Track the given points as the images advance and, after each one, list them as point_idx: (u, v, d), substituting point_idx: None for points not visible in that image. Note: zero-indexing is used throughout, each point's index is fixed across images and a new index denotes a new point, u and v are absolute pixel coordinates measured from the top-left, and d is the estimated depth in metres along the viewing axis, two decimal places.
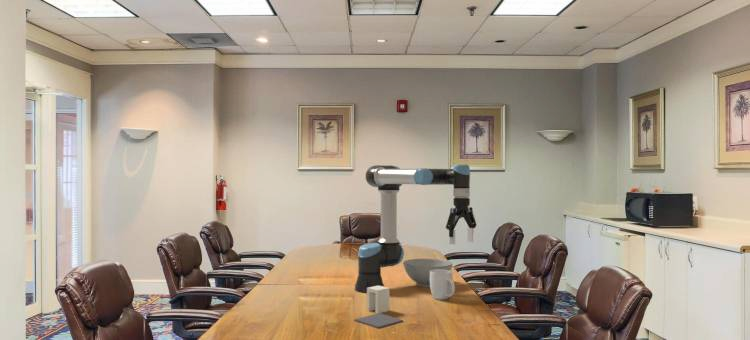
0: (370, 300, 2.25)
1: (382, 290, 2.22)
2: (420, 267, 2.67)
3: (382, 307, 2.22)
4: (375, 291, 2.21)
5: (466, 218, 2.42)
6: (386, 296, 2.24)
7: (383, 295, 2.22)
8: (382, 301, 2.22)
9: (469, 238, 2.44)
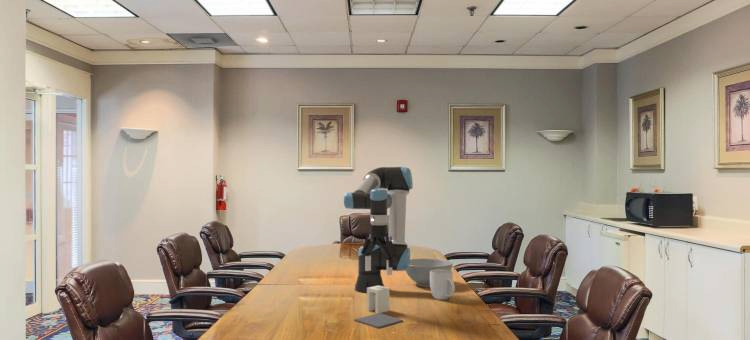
0: (370, 300, 2.25)
1: (382, 290, 2.22)
2: (420, 267, 2.67)
3: (382, 307, 2.22)
4: (375, 291, 2.21)
5: None
6: (386, 296, 2.24)
7: (383, 295, 2.22)
8: (382, 301, 2.22)
9: None
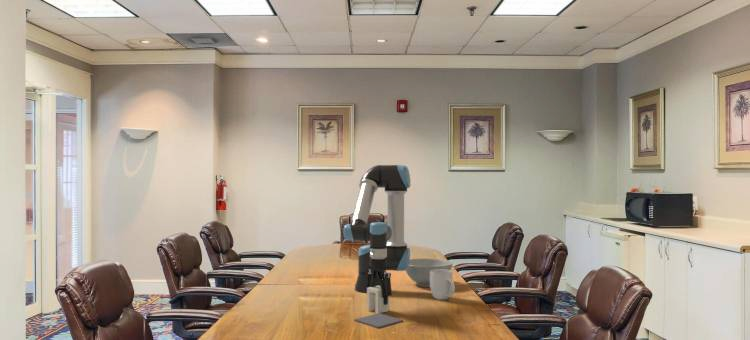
0: (370, 300, 2.24)
1: None
2: (420, 267, 2.67)
3: None
4: (375, 291, 2.21)
5: None
6: None
7: None
8: None
9: None
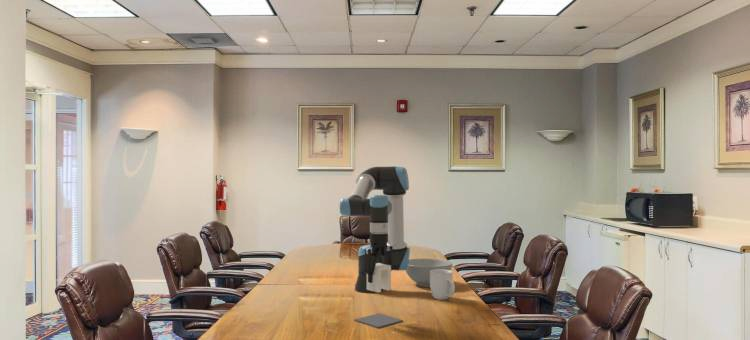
0: None
1: None
2: (420, 267, 2.67)
3: None
4: (388, 267, 2.08)
5: (383, 258, 2.10)
6: None
7: None
8: None
9: None
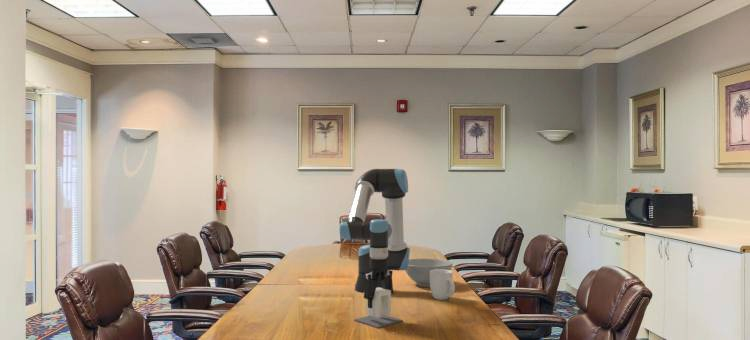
0: None
1: None
2: (420, 267, 2.67)
3: None
4: (388, 292, 2.08)
5: (383, 282, 2.10)
6: None
7: None
8: None
9: None
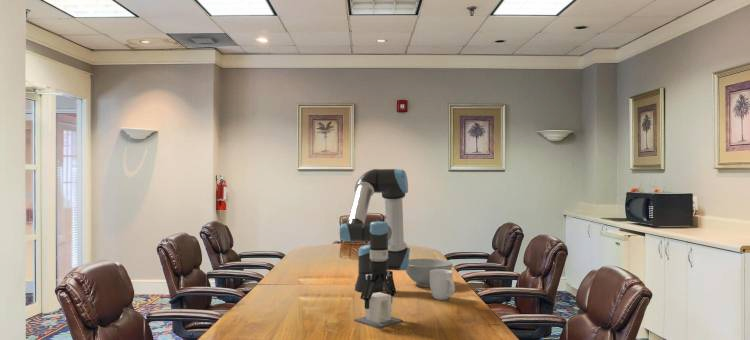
0: None
1: None
2: (420, 267, 2.67)
3: None
4: (388, 297, 2.08)
5: (384, 284, 2.11)
6: None
7: None
8: None
9: None
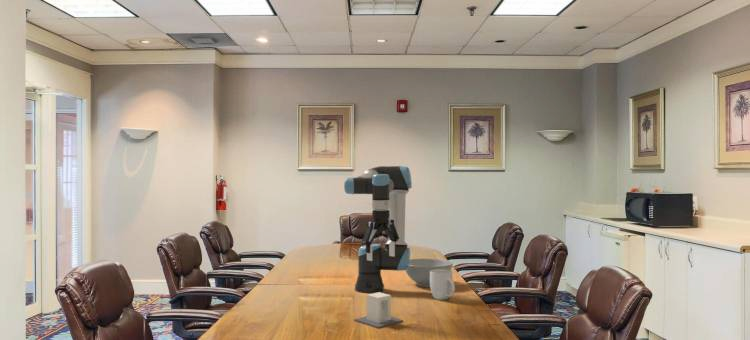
0: None
1: None
2: (420, 267, 2.67)
3: None
4: (388, 297, 2.08)
5: (387, 231, 2.25)
6: None
7: None
8: None
9: (391, 252, 2.28)
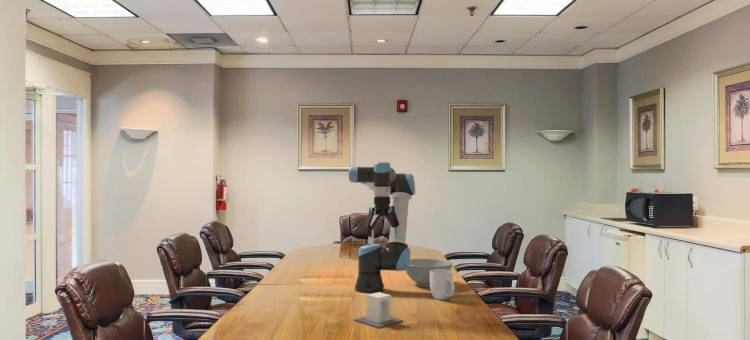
0: None
1: None
2: (420, 267, 2.67)
3: None
4: (388, 297, 2.08)
5: (387, 217, 2.36)
6: None
7: None
8: None
9: (391, 238, 2.38)
